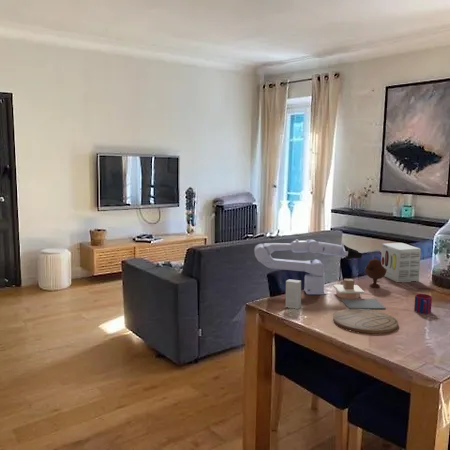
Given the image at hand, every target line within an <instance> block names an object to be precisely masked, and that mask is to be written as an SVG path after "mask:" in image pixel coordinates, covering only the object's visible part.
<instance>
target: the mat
mask: <svg viewBox="0 0 450 450" xmlns="http://www.w3.org/2000/svg"><path fill="white" fill-rule="evenodd" d="M340 300H341V302H342V304H344V305H345V307H346V308H347V307H348V308H347V309H369V310H386V307H385V306H384V305H383V304H382V303H381V302H380V301H378V299H377V298H357V299H345V298H341V299H340Z"/></svg>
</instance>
